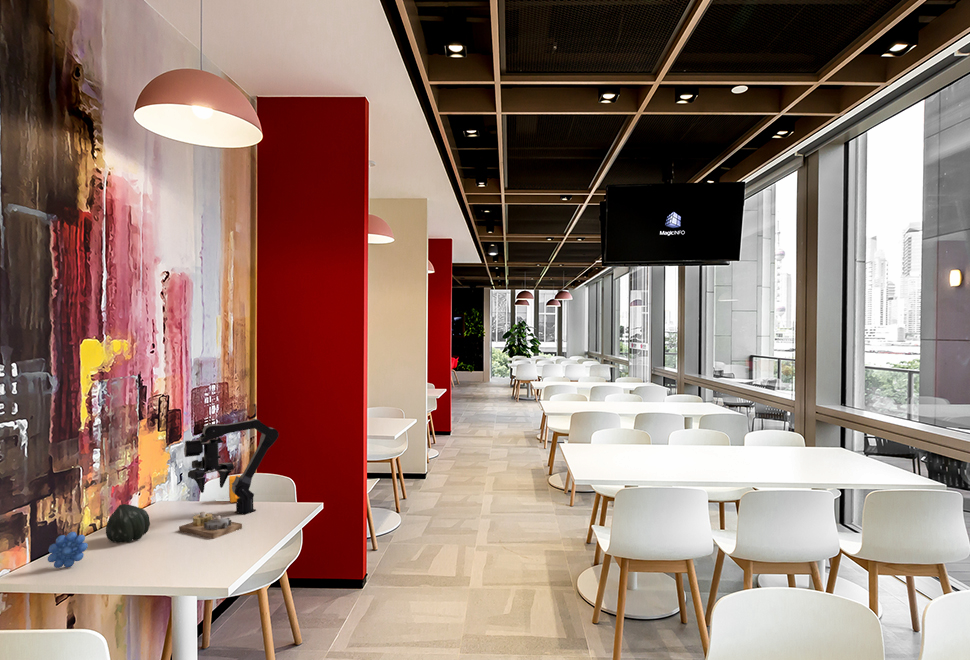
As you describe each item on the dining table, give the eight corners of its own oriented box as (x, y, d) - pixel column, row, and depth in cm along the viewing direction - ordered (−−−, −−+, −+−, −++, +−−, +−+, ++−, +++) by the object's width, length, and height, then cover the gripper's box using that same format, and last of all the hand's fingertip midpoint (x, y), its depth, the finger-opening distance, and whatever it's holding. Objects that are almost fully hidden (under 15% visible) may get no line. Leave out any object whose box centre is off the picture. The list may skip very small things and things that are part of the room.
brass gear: (205, 519, 238) (204, 512, 238) (216, 522, 235) (215, 514, 235) (189, 524, 232) (189, 517, 232) (200, 527, 229) (200, 519, 229)
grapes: (92, 560, 201) (91, 526, 201) (85, 567, 194) (84, 532, 194) (53, 565, 197) (52, 530, 197) (44, 572, 191) (44, 536, 191)
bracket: (247, 501, 272) (246, 476, 272) (230, 504, 269) (230, 478, 269) (245, 496, 281) (244, 472, 282) (229, 498, 278) (228, 474, 278)
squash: (161, 516, 232) (132, 492, 229) (152, 529, 218) (121, 503, 215) (132, 543, 229) (102, 519, 226) (121, 558, 215) (89, 532, 211)
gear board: (208, 522, 242) (208, 506, 242) (241, 528, 232) (241, 512, 232) (179, 531, 230) (179, 515, 230) (213, 538, 220) (213, 521, 220)
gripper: (218, 448, 260) (218, 483, 259) (179, 456, 243) (179, 493, 243) (234, 450, 254) (235, 485, 254) (196, 458, 238) (196, 496, 238)
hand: (211, 490), depth 247 cm, fingers open, 9 cm apart
